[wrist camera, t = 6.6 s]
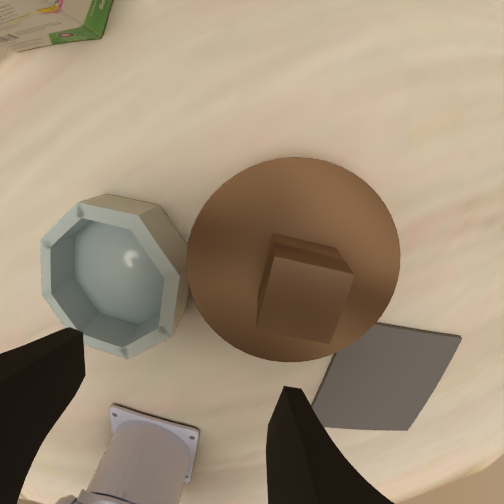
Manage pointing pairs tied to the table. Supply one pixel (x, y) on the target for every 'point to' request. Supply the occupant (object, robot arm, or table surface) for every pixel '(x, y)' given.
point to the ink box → (50, 22)
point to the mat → (383, 378)
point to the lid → (293, 259)
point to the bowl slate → (116, 273)
